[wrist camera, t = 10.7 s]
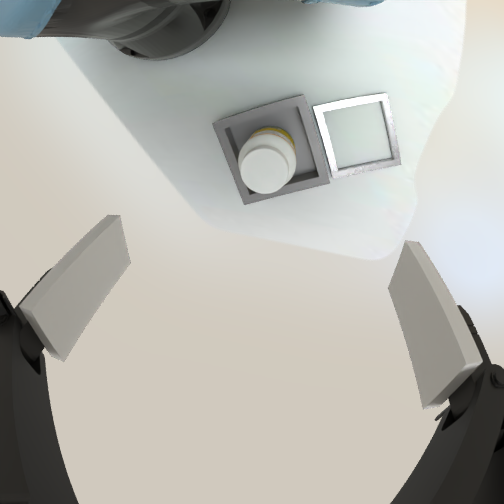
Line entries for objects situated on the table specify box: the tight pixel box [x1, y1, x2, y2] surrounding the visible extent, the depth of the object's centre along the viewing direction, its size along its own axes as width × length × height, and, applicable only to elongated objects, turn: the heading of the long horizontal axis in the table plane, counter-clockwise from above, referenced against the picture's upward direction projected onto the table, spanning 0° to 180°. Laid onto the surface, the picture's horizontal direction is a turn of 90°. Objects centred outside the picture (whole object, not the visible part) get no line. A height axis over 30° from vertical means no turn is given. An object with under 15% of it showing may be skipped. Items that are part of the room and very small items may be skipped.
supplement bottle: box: [238, 126, 296, 194], centre depth 26 cm, size 5×5×10 cm
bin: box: [213, 95, 330, 205], centre depth 29 cm, size 10×10×3 cm
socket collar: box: [312, 93, 401, 179], centre depth 28 cm, size 9×9×1 cm
